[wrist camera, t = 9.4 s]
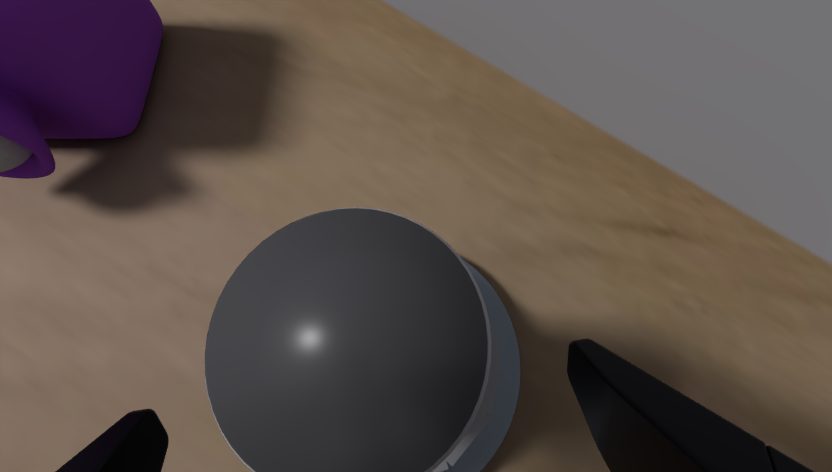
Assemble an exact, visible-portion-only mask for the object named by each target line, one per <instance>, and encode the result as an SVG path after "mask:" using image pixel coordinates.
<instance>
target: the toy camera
mask: <svg viewBox="0 0 832 472" xmlns="http://www.w3.org/2000/svg"><path fill="white" fill-rule="evenodd" d="M162 34H163V26H162V22H161V19H160V17H159V14H158V13H157V11H156V9H155V8H154V6H153V5H152V3H151V2H150V0H0V176H2V177H11V178H39V177H44V176H48V175H50V174H51V173H53V172H54V170H55V161H54V158H53V155H52V153H51V151H50V149H49V147H48V145H47V143H46V141H45V139H99V138H116V137H122V136H126V135H128V134H130V133H131V132H132V131H133V130H135V128H136V126H137V124H138V122H139V120H140V117H141V114H142V111H143V108H144V104H145V101H146V97H147V94H148V90H149V86H150V83H151V79H152V75H153V71H154V68H155V64H156V60H157V56H158V53H159V49H160V45H161V40H162Z"/></svg>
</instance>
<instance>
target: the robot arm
mask: <svg viewBox="0 0 832 472" xmlns="http://www.w3.org/2000/svg"><path fill="white" fill-rule="evenodd" d="M567 372H568V377H569V380H570V383H571V385H572V387H573V390H574V392H575V395H576V397H577V399H578V402H579V404H580V407H581V409H582V412H583V414H584V416H585V419H586V421H587V424H588V426H589V428H590V431H591V433H592V436H593V438H594V440H595V442H596V445H597V447H598V449H599V451H600V453H601V455H602V457H603V459H604V460H605V462H606V464H607V466H608V468H609V470H610V472H814V471H812V470H811V469H809V468H807V467H805V466H804V465H802V464H800V463H798V462H797V461H795V460H793V459H792V458H790V457H788V456H786V455H785V454H783V453H781V452H780V451H778V450H776V449H775V448H773V447H771V446H766V445H765V443H764V442H763V441H761V440H759V439H758V438H756V437H754V436H752V435H751V434H749V433H747V432H746V431H744V430H742V429H741V428H739V427H737V426H736V425H734V424H732V423H731V422H729V421H727V420H726V419H724V418H722V417H720V416H719V415H717V414H715V413H714V412H712V411H710V410H709V409H707V408H705V407H704V406H702V405H700V404H699V403H697V402H695V401H694V400H692V399H690V398H688V397H687V396H685V395H683V394H682V393H680V392H678V391H677V390H675V389H673V388H672V387H670V386H668V385H667V384H665V383H663V382H662V381H660V380H658V379H656V378H655V377H653V376H651V375H650V374H648V373H646V372H645V371H643V370H641V369H640V368H638V367H636V366H635V365H633V364H631V363H630V362H628V361H626V360H624V359H623V358H621V357H619V356H618V355H616V354H614V353H613V352H611V351H609V350H608V349H606V348H604V347H603V346H601V345H599V344H598V343H596V342H594V341H592V340H590V339H581V340H575V341H572V342H570V344H569V350H568V365H567ZM167 448H168V435H167V432H166V430H165V429H164V427H163V425H162V423H161V421H160V420H159V418H158V416H157V414H156V413H155V411H153V410H152V409H143V410H137V411H132V412H130V413H128V414H126V415H125V416H124V417H123V418H121V419H120V420H119V421H118V422H116V423H115V424H114V425H113V426H111V427H110V428H109V429H108V430H106V431H105V432H104V433H103V434H102V435H100V436H99V437H98V438H97V439H95V440H94V441H93V442H92V443H90V444H89V445H88V446H87V447H85V448H84V449H83V450H82V451H80V452H79V453H78V454H77V455H75V456H74V457H73V458H72V459H71V460H69V461H68V462H67V463H66V464H64V465H63V466H62V467H61V468H59V469H58V470H57V471H56V472H161V470H162V466H163V463H164V459H165V455H166V452H167Z"/></svg>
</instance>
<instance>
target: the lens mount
mask: <svg viewBox="0 0 832 472" xmlns="http://www.w3.org/2000/svg"><path fill="white" fill-rule="evenodd" d="M461 259H462V258H461ZM462 260H463V259H462ZM463 262H464V263H465V264H466V266H467V267H468V269H469V270H470V272H471V273H472V275H473V277H474V279H475V281H476V283H477V285H478V287H479V289H480V292H481V294H482V297H483V300H484V302H485V306H486V310H487V314H488V318H489V322H490V332H491V365H490V371H489V378H488V383H487V386H486V390H485V393H484V397H483V400H482V403H481V405H480V407H479V410H478V412H477V414H476V417H475V419H474V421H473V422H472V424H471V426H470V427H469V429H468V431H467V433H466V434H465V436H464V437H463V439H462V440H461V441H460V443H459V444H458V445H457V446H456V448H455V449H454V450H453V451H452V453H451V454H450V455H449V456H448V457H447V458H446V459H445V460H444V461H443V462H442V463H441V464H440V465H439V466H438V467H437V468H436V469H434V470H433V471H432V472H480V471H481V470H482V469H483V468H484V467H485V466H486V464H487V463H488V462H489V461H490V460H491V459H492V457H493V456H494V454H495V453H496V451H497V450H498V448H499V447H500V445H501V444H502V442H503V440H504V438H505V436H506V434H507V432H508V430H509V428H510V425H511V422H512V419H513V416H514V413H515V410H516V406H517V401H518V396H519V390H520V377H521V368H520V353H519V348H518V342H517V337H516V334H515V331H514V327H513V324H512V321H511V319H510V317H509V315H508V312H507V310H506V308H505V306H504V304H503V303H502V301H501V299H500V298H499V296H498V294H497V293H496V291H495V290H494V289H493V288H492V286H491V285H490V284H489V283H488V281H487V280H486V279H485V278H484V277H483V276H482V275H481V274H480V273H479V272H478V271H477V270H476V269H475V268H474V267H472V266H471V265H470V264H468V263H467V262H466V261H464V260H463Z"/></svg>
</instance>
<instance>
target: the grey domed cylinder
mask: <svg viewBox="0 0 832 472" xmlns="http://www.w3.org/2000/svg"><path fill="white" fill-rule="evenodd" d="M490 365H491V332H490V322H489V318H488V314H487V310H486V306H485V302H484V300H483V297H482V294H481V292H480V289H479V287H478V285H477V283H476V281H475V279H474V277H473V275H472V273H471V272H470V270H469V269H468V267H467V266H466V264H465V263H464V262H463V260H462V259H461V257H460V256H459V255H458V254H457V253H456V252H455V251H454V250H453V249H452V248H451V246H450V245H449V244H448V243H446V242H445V241H444V240H443V239H442V238H440V237H439V236H438V235H437V234H436V233H434V232H433V231H431V230H430V229H428V228H426V227H425V226H423V225H422V224H420V223H418V222H416V221H413V220H411V219H409V218H407V217H405V216H402V215H399V214H396V213H392V212H389V211H384V210H379V209H372V208H359V207H356V208H339V209H333V210H327V211H323V212H319V213H316V214H312V215H309V216H306V217H304V218H302V219H299V220H297V221H295V222H292V223H290V224H289V225H287V226H285V227H283V228H282V229H280V230H278V231H276V232H275V233H273V234H272V235H271V236H269V237H268V238H267V239H265V240H264V241H263V242H261V243H260V244H259V245H258V246H257V247H256V248H255V249H254V250H253V251H252V252H251V253H249V254H248V256H247V257H246V258H245V259H244V260H243V261H242V263H241V264H240V265H239V266H238V267H237V269H236V270H235V272H234V273H233V275H232V276H231V277H230V279H229V280H228V282H227V283H226V285H225V287H224V289H223V291H222V293H221V295H220V297H219V299H218V301H217V304H216V307H215V309H214V312H213V315H212V317H211V322H210V326H209V330H208V334H207V340H206V349H205V379H206V386H207V393H208V398H209V401H210V405H211V408H212V412H213V415H214V417H215V419H216V422H217V424H218V426H219V428H220V431H221V433H222V434H223V436H224V438H225V439H226V441H227V442H228V444H229V446H230V447H231V449H232V450H233V451H234V453H235V454H236V455H237V456H238V457H239V458H240V460H241V461H242V462H243V463H244V464H245V465H246V466H247V467H248V468H249V469H250V470H251V471H253V472H432V471H433V470H434V469H436V468H437V467H438V466H439V465H440V464H441V463H442V462H443V461H444V460H445V459H446V458H447V457H448V456H449V455H450V454H451V453H452V451H453V450H454V449H455V448H456V446H457V445H458V444H459V443H460V441H461V440H462V439H463V437H464V436H465V434H466V433H467V431H468V429H469V427H470V426H471V424H472V422H473V421H474V419H475V417H476V414H477V412H478V410H479V407H480V405H481V403H482V400H483V397H484V393H485V390H486V386H487V383H488V378H489V371H490Z"/></svg>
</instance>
